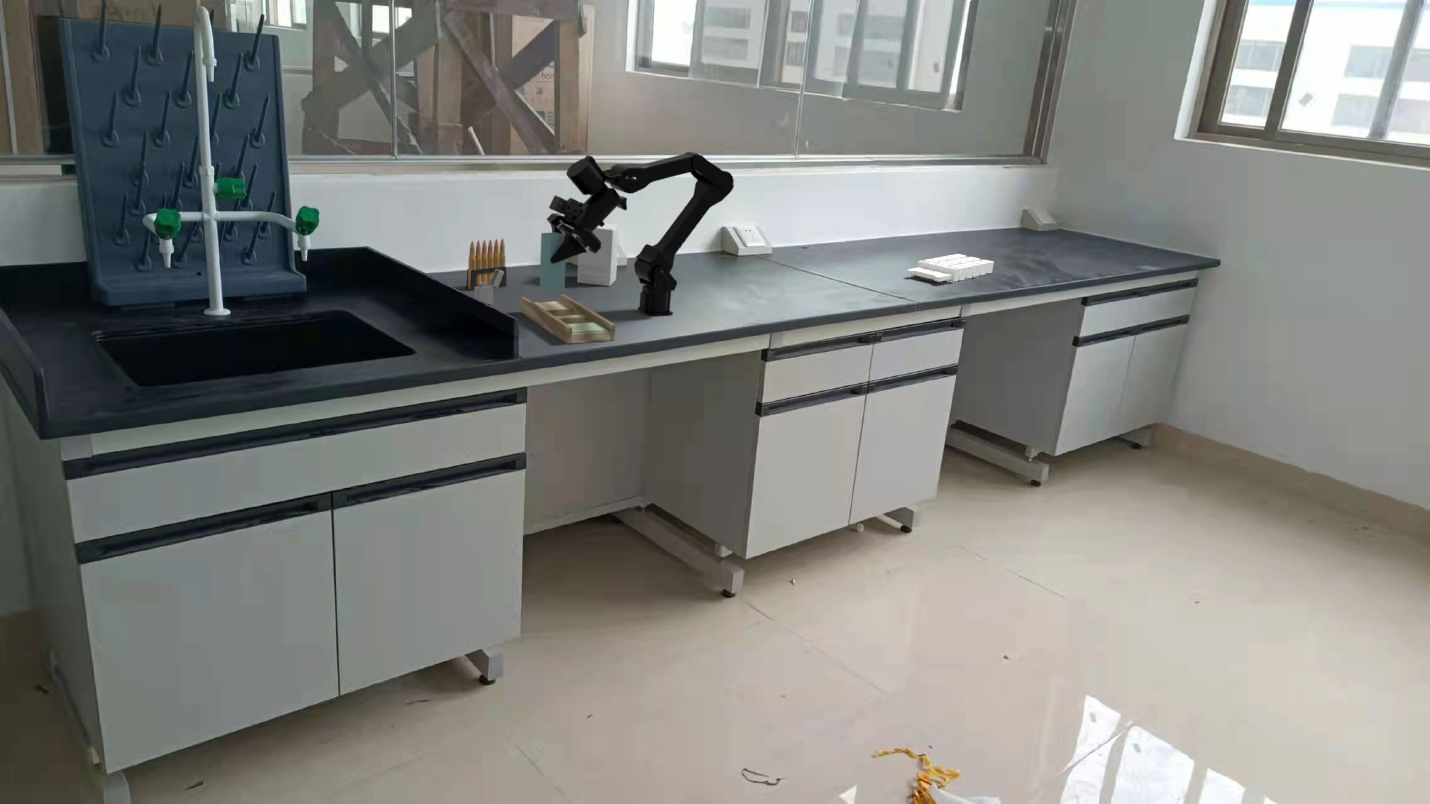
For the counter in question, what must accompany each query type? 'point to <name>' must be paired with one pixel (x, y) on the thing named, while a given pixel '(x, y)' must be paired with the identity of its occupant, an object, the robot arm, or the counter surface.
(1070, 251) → the counter surface
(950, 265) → the organizer
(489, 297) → the lighter
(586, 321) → the wooden slatted tray
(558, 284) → the teal block
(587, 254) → the supplement box
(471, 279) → the ammunition clip
